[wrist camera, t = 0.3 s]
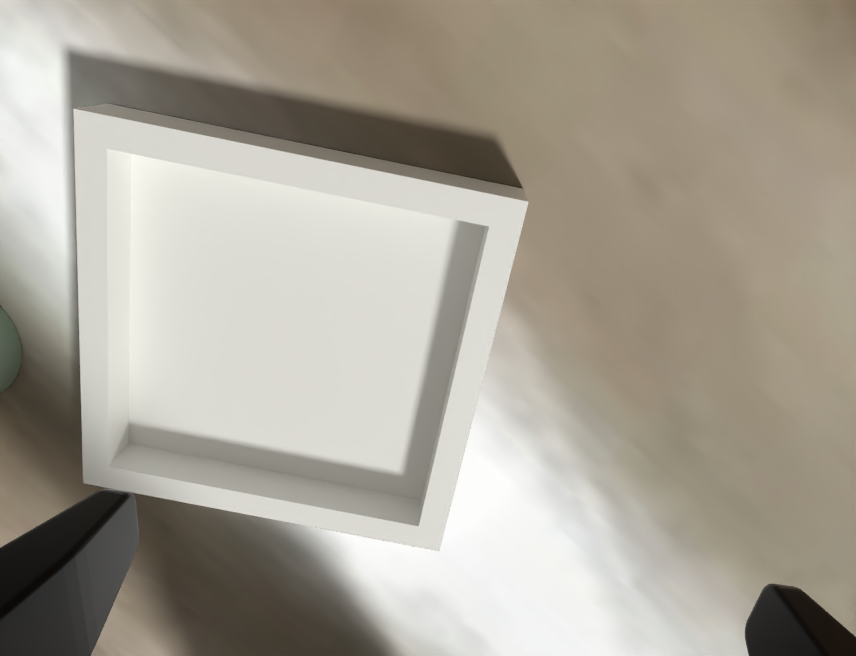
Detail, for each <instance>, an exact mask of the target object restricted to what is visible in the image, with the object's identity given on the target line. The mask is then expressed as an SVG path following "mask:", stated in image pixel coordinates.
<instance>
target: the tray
mask: <svg viewBox="0 0 856 656" xmlns="http://www.w3.org/2000/svg"><path fill="white" fill-rule="evenodd" d="M73 114H74V152H75V190H76V229H77V267H78V305H79V343H80V382H81V420H82V458H83V483H85V484H90V485H95V486H100V487H106V488H111V489H116V490H121V491H128V492H132V493H137V494H142V495H148V496H153V497H158V498H163V499H169V500H174V501H179V502H184V503H189V504H195V505H200V506H205V507H210V508H216V509H221V510H226V511H231V512H237V513H242V514H247V515H252V516H258V517H263V518H268V519H273V520H279V521H284V522H289V523H294V524H300V525H305V526H310V527H315V528H320V529H326V530H331V531H336V532H341V533H347V534H352V535H357V536H362V537H368V538H373V539H378V540H383V541H389V542H394V543H399V544H404V545H410V546H415V547H420V548H425V549H430V550H436V551H439V550H440V546H441V542H442V538H443V534H444V530H445V526H446V522H447V518H448V514H449V511H450V507H451V503H452V499H453V495H454V491H455V487H456V483H457V479H458V475H459V471H460V468H461V464H462V460H463V456H464V452H465V448H466V444H467V440H468V436H469V432H470V429H471V425H472V421H473V417H474V413H475V409H476V405H477V401H478V397H479V393H480V389H481V386H482V382H483V378H484V374H485V370H486V366H487V362H488V358H489V354H490V350H491V347H492V343H493V339H494V335H495V331H496V327H497V323H498V319H499V315H500V311H501V307H502V304H503V300H504V296H505V292H506V288H507V284H508V280H509V276H510V272H511V268H512V265H513V261H514V257H515V253H516V249H517V245H518V241H519V237H520V233H521V229H522V226H523V222H524V218H525V214H526V210H527V206H528V199H527V196H526V194H525V191H524V189H522V188H517V187H513V186H508V185H503V184H498V183H493V182H488V181H483V180H478V179H474V178H469V177H464V176H459V175H454V174H449V173H444V172H439V171H435V170H430V169H425V168H420V167H415V166H410V165H405V164H400V163H396V162H391V161H386V160H381V159H376V158H371V157H366V156H361V155H357V154H352V153H347V152H342V151H337V150H332V149H327V148H322V147H318V146H313V145H308V144H303V143H298V142H293V141H288V140H283V139H278V138H274V137H269V136H264V135H259V134H254V133H249V132H244V131H239V130H235V129H230V128H225V127H220V126H215V125H210V124H205V123H200V122H196V121H191V120H186V119H181V118H176V117H171V116H166V115H161V114H157V113H152V112H147V111H142V110H137V109H132V108H127V107H122V106H118V105H113V104H108V103H106V104H100V105H93V106H87V107H80V108H74V109H73Z"/></svg>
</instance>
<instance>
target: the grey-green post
mask: <svg viewBox="0 0 856 656" xmlns="http://www.w3.org/2000/svg"><path fill="white" fill-rule="evenodd" d="M21 363H22V347H21V342H20V338H19V335H18V333H17V330H16V328H15V326H14V324H13V323H12V321H11V319H10V318H9V316H8V315H7V313H6V312H5V311H4V310H3V309H2V308H1V306H0V393H1V392H2V391H4V390H5V389H6V388H8V387H9V386H10V385H11V384H12V383H13V381H14V380H15V379H16V377H17V375H18V374H19V371H20V368H21Z"/></svg>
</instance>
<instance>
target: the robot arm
mask: <svg viewBox="0 0 856 656" xmlns="http://www.w3.org/2000/svg"><path fill="white" fill-rule="evenodd" d="M138 541H139V529H138V519H137V508H136V500H135V497H134V495H133V494H132V493H131V492H128V491H121V490H114V489H102V490H100V491H98V492H96V493H94V494H92V495H91V496H89V497H87V498H86V499H84V500H82V501H80V502H79V503H77V504H75V505H73V506H72V507H70V508H68V509H66V510H65V511H63V512H61V513H60V514H58V515H56V516H54V517H53V518H51V519H49V520H47V521H46V522H44V523H42V524H41V525H39V526H37V527H35V528H34V529H32V530H30V531H28V532H27V533H25V534H23V535H22V536H20V537H18V538H16V539H15V540H13V541H11V542H9V543H8V544H6V545H4V546H3V547H1V548H0V656H91V653H92V651H93V649H94V647H95V645H96V643H97V640H98V638H99V636H100V634H101V631H102V629H103V627H104V624H105V622H106V620H107V617H108V615H109V613H110V610H111V608H112V606H113V604H114V601H115V599H116V597H117V594H118V592H119V590H120V587H121V585H122V583H123V580H124V578H125V576H126V573H127V571H128V569H129V566H130V564H131V562H132V560H133V557H134V555H135V552H136V550H137V546H138ZM745 640H746V645H747V649H748V654H749V656H856V637H855V636H854V635H853V634H852V633H851V632H849V631H848V630H847V629H846V628H845V627H844V626H842V625H841V624H840V623H839V622H838V621H837V620H836V619H834V618H833V617H832V616H831V615H830V614H829V613H828V612H826V611H825V610H824V609H823V608H822V607H821V606H820V605H818V604H817V603H816V602H815V601H814V600H813V599H812V598H810V597H809V596H808V595H807V594H806V593H805V592H803V591H802V590H801V589H799V588H796V587H793V586H786V585H779V584H768V585H767V586H765V587H764V588H763V590H762V592H761V594H760V596H759V598H758V600H757V602H756V604H755V606H754V608H753V610H752V612H751V614H750V616H749V618H748V620H747V622H746V627H745Z"/></svg>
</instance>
